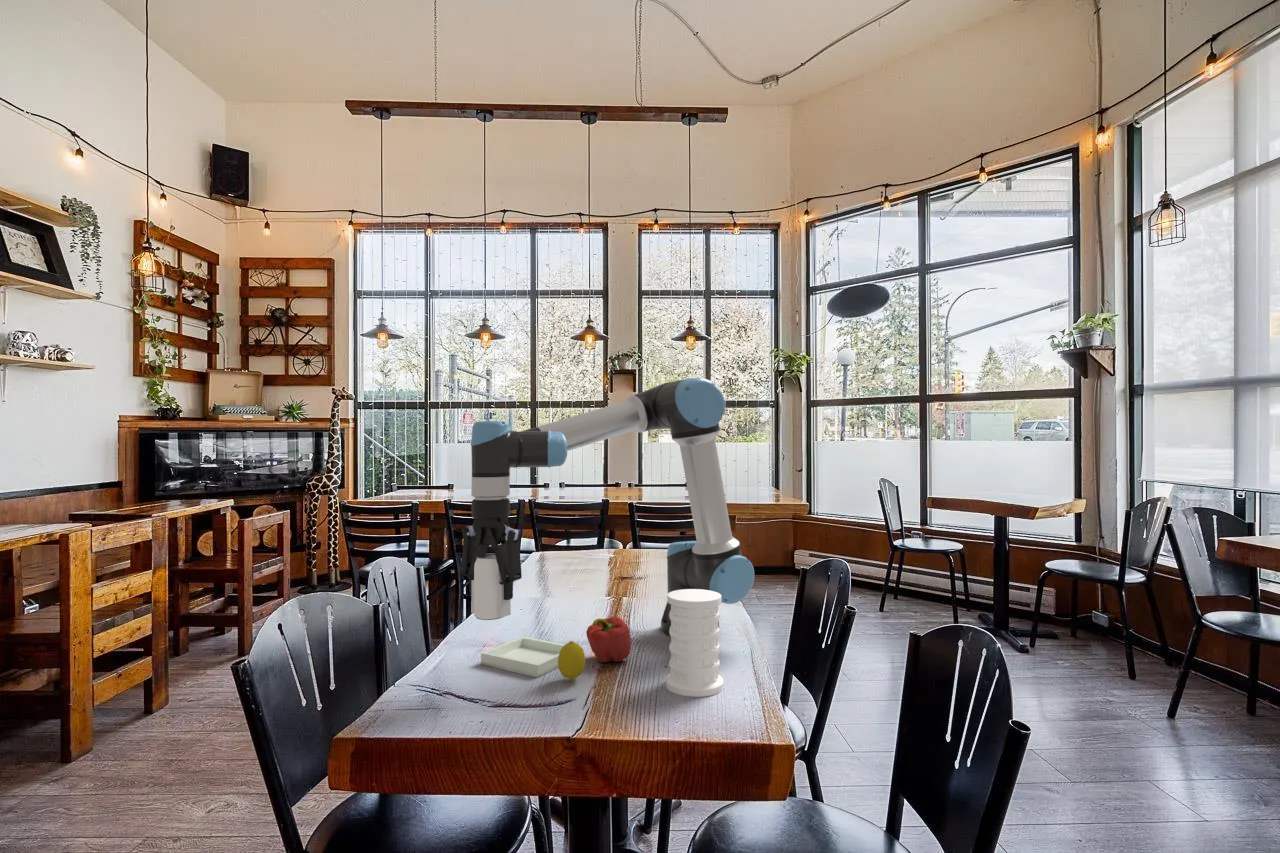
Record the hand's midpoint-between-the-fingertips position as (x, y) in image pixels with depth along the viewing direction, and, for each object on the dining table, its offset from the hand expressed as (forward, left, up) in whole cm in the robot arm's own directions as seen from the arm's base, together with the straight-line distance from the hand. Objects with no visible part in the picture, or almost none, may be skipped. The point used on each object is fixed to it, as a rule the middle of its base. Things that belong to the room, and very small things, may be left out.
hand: (490, 613), depth 126 cm
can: (0, 0, -1) cm, 1 cm away
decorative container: (-35, -21, -15) cm, 43 cm away
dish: (+3, -16, -15) cm, 22 cm away
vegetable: (-12, -25, -15) cm, 31 cm away
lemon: (-12, -11, -15) cm, 22 cm away
